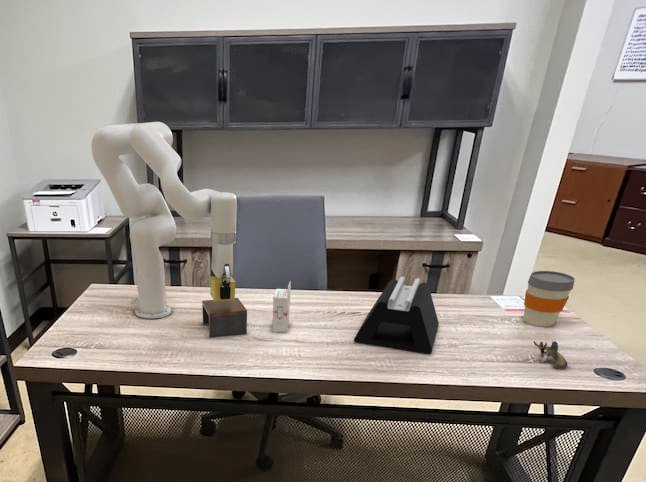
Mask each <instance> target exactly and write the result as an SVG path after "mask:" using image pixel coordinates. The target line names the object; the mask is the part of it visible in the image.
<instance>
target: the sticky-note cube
mask: <svg viewBox="0 0 646 482" xmlns="http://www.w3.org/2000/svg"><path fill="white" fill-rule="evenodd" d="M222 277H223V276H222ZM209 280H210V282H209V283H210V285H209V286H210V291H209V292H210V294H209V295H210V296H211V298H212V300H214V301H215V302H217V301H231V300H235V298H236V280H235V279H234V278H233V276H232V277H231V280H230V281H231V293H230V299H220V286H221V277H219V278H217V277H216V276H215V275H210V279H209ZM224 280H225V279H223V282H224Z"/></svg>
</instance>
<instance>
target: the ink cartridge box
mask: <svg viewBox="0 0 646 482" xmlns="http://www.w3.org/2000/svg"><path fill="white" fill-rule="evenodd" d="M291 281H292V280H289V282H288V286H287V288H275V291H274V293H273V297H272V327H271V329H272V330H271V331H272V333H288V329H289V323H290V322H289V321H290V311H291V310H290V309H291V308H290V307H291V295H292V293H291V291H292V286H291V285H292V282H291Z"/></svg>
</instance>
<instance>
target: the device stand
mask: <svg viewBox="0 0 646 482" xmlns="http://www.w3.org/2000/svg"><path fill="white" fill-rule="evenodd" d="M405 280H406V278H405V276H400V277H399V279H395V278H392V279H391V280H390V281H388V283H387V284H386V286H385V287H384V289H383V291H382V292H381V294H380V295H379V296H378V298H377V300H376V301H375V303H374V305H373V306H372V308H371V309H370V310H369V312H368V313H367V315H366V317H365V319H364V320H363V322H362V324H361V326H360V328H359V330H358V331H357V333H356V335H355V336H354V338H353V342H355V344H356V343H357V344H363V345H370V346H376V347H383V348H388V349H393V350H400V351H408V352H413V353H418V354H425V355H426V354H427V355H431V354H432V353H433V349H434V345H435V341H436V338H437V334H438V328H439V324H440V323H439V319H438V315H437V311H436V307H435V304H434V300H433V297H432V293H431V288H430V285H429V284H428V283H427V282H421V283H420V281H421V279H420V278H419V277H417V278H414V281H413V283H412V285H405V284H404V283H405Z"/></svg>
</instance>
